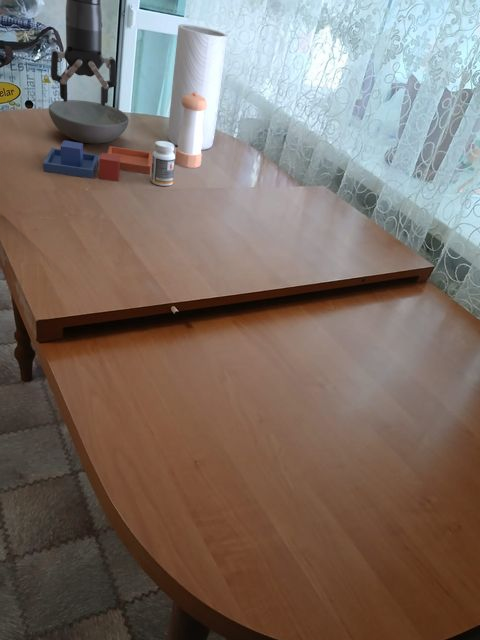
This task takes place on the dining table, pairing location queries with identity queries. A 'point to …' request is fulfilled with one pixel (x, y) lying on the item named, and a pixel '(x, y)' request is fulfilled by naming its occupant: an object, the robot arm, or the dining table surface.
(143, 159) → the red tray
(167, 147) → the pill bottle
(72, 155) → the blue block
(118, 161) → the red block
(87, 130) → the bowl
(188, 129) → the salt shaker
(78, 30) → the robot arm
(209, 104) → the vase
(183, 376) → the dining table surface
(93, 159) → the blue tray
